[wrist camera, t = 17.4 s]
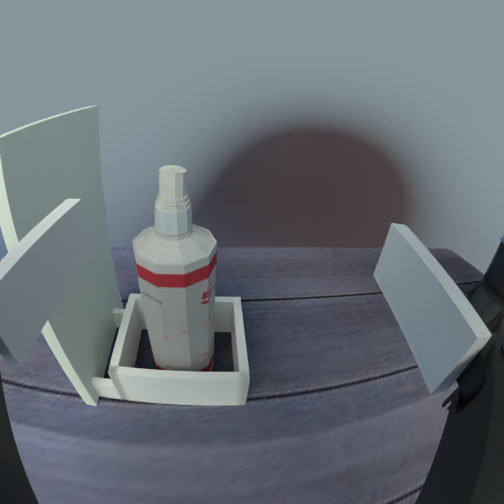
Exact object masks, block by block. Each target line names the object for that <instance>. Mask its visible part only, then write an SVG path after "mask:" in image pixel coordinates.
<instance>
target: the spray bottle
mask: <svg viewBox="0 0 504 504" xmlns="http://www.w3.org/2000/svg"><path fill="white" fill-rule="evenodd" d="M186 177H187V171H186V170H185V169H184V168H182V167H180V166H173V165H168V166H162V167H161V168H160V169H159V194H158V195H157V199H156V204H155V226H152V227H149V228H146V229H144V230H143V231H142V232H141V233H140V234H139V235H138V236H137V237H136V238H135V239H134V240H133V249H134V257H135V264H136V270H137V277H138V283H139V289H140V294H141V300H142V305H143V310H144V315H145V320H146V325H147V330H148V334H149V339H150V343H151V347H152V352H153V356H154V360H155V363H156V367H157V370H170V371H193V372H211V369H212V366H213V364H214V320H215V282H216V254H217V241H216V240H215V238H214V237H213V235H212V234H211V232H210V231H209V230H208V229H205V228H203V227H200V226H197V225H195V224H192V211H191V204H190V199H189V198H188V194H187V193H186Z"/></svg>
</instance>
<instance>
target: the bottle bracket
mask: <svg viewBox="0 0 504 504" xmlns="http://www.w3.org/2000/svg"><path fill="white" fill-rule="evenodd" d="M101 175H102V174H101V161H100V141H99V105H97V106H89V107H84V108H80V109H77V110H73V111H69V112H66V113H62V114H59V115H56V116H52V117H49V118H46V119H43V120H40V121H37V122H34V123H31V124H28V125H26V126H23V127H20V128H18V129H15V130H13V131H10V132H8V133H5V134H3V135H0V226H1V230H2V233H3V237H4V240H5V243H6V246H7V249H8V252H10V251H11V250H12V249H13V248H14V247H15V246H16V245H17V244H18V243H19V242H20V241H21V240H22V239H23V238H24V237H25V236H26V235H27V234H28V233H29V232H30V231H31V230H32V229H33V228H34V227H35V226H36V225H38V224H39V223H40V222H41V221H42V220H43V219H44V218H45V217H46V216H48V215H49V214H50V213H51V212H52V211H53V210H55V209H56V208H57V207H58V206H59V205H60V204H62V203H63V202H64V201H65V200H67V199H82V206H83V213H84V219H85V224H86V230H87V235H88V240H89V245H90V250H91V255H90V257H89V258H88V260H87V261H86V262H85V264H84V265H83V267H82V268H81V269H80V271H79V272H78V274H77V275H76V277H75V278H74V280H73V281H72V283H71V284H70V285H69V287H68V288H67V290H66V292H65V293H64V295H63V296H62V298H61V299H60V301H59V302H58V304H57V306H56V307H55V309H54V310H53V312H52V314H51V315H50V317H49V319H48V320H47V322H46V324H45V325H44V327H43V329H42V330H41V331H42V333H43V335H44V337H45V339H46V341H47V342H48V344H49V346H50V348H51V350H52V351H53V353H54V355H55V357H56V358H57V360H58V362H59V363H60V365H61V367H62V368H63V370H64V372H65V373H66V375H67V376H68V378H69V379H70V381H71V382H72V384H73V386H74V387H75V389H76V390H77V391H78V393H79V394H80V396H81V397H82V399H83V400H84V401H85V403H86V404H88V405H94V406H97V404H98V400H99V396H102V397H109V398H116V399H123V400H131V401H141V402H151V403H164V404H181V405H245V404H246V399H247V394H248V388H249V383H250V374H249V366H248V358H247V350H246V341H245V333H244V324H243V316H242V307H241V298H240V297H215V320H214V332H231V341H232V354H233V366H234V372H193V371H170V370H154V369H141V368H135V362H136V357H137V352H138V347H139V342H140V337H141V332H142V329H146V330H147V325H146V320H145V315H144V310H143V305H142V300H141V294H133V293H130V295H129V298H128V302H127V305H126V308H125V309H123V304H122V299H121V295H120V291H119V286H118V282H117V277H116V272H115V267H114V262H113V257H112V251H111V245H110V239H109V234H108V227H107V220H106V213H105V204H104V195H103V185H102V176H101ZM117 327H120V328H119V332H118V335H117V339H116V343H115V346H114V350H113V354H112V358H111V362H110V366H109V370H108V374H109V376H110V378H111V379H106V378H103V377H104V373H105V369H106V365H107V361H108V358H109V354H110V350H111V346H112V343H113V339H114V336H115V332H116V329H117Z"/></svg>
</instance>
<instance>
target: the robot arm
mask: <svg viewBox="0 0 504 504" xmlns="http://www.w3.org/2000/svg"><path fill="white" fill-rule="evenodd" d="M90 255H91V250H90V245H89V240H88V235H87V230H86V224H85V219H84V213H83V206H82V199H67V200H65V201H64V202H63V203H62V204H60V205H59V206H58V207H57V208H56V209H55V210H53V211H52V212H51V213H50V214H49V215H48V216H46V217H45V218H44V219H43V220H42V221H41V222H40V223H39V224H38V225H36V226H35V227H34V228H33V229H32V230H31V231H30V232H29V233H28V234H27V235H26V236H25V237H24V238H23V239H22V240H21V241H20V242H19V243H18V244H17V245H16V246H15V247H14V248H13V249H12V250H11V251H10V252H9V253H8V254H7V255H6V256H5V257H4V258H3V259H2V260H1V261H0V353H1V355H2V356H3V358H4V359H5V361H6V362H8V363H10V364H13V365H15V366H18V367H20V368H22V366H23V364H24V362H25V360H26V358H27V356H28V354H29V352H30V350H31V348H32V347H33V345H34V343H35V341H36V339H37V338H38V336H39V334H40V332H41V330H42V329H43V327H44V325H45V324H46V322H47V320H48V319H49V317H50V315H51V314H52V312H53V310H54V309H55V307H56V306H57V304H58V302H59V301H60V299H61V298H62V296H63V295H64V293H65V292H66V290H67V288H68V287H69V285H70V284H71V283H72V281H73V280H74V278H75V277H76V275H77V274H78V272H79V271H80V269H81V268H82V267H83V265H84V264H85V262H86V261H87V260H88V258H89V257H90ZM373 276H374V278H375V280H376V282H377V283H378V285H379V287H380V289H381V291H382V293H383V295H384V296H385V298H386V300H387V302H388V304H389V306H390V308H391V310H392V312H393V314H394V316H395V318H396V320H397V322H398V324H399V326H400V328H401V330H402V332H403V334H404V336H405V338H406V340H407V342H408V345H409V347H410V349H411V351H412V353H413V355H414V358H415V360H416V362H417V364H418V367H419V369H420V371H421V373H422V376H423V378H424V381H425V383H426V385H427V388H428V390H429V393H430V395H432V394H436V393H440V392H444V391H446V390H447V389H448V388H449V387H450V386H451V385H452V384H453V383H454V382H455V381H457V383H458V385H459V387H458V388H457V389H456V390H455V391H454V392H453V393H452V394H451V395H450V396H449V397H448V398H447V399H446V400H445V401H444V402H443V404H442V407H444V406H445V405H447V404H448V403H449V402H450V401H452V402H451V405H450V406H449V407H448V408H447V409H448V410H449V414H448V417H447V421H446V424H445V428H444V431H443V434H442V437H441V441H440V444H439V447H438V449H437V452H436V455H435V458H434V461H433V463H432V466H431V468H430V471H429V473H428V476H427V478H426V481H425V483H424V485H423V487H422V490H421V492H420V494H419V496H418V498H417V500H416V502H415V504H504V235H503V236H502V237H501V242H500V244H499V247H498V249H497V251H496V253H495V255H494V257H493V259H492V261H491V263H490V265H489V268H488V269H487V271H486V273H485V275H484V277H483V279H482V280H481V281H480V282H479V283H478V284H477V285H476V286H475V287H474V288H472V289H471V290H470V291H469V292H468V293H467V294H466V295H465V294H464V293H463V292H462V291H461V290H460V289H459V288H458V286H457V285H456V284H455V282H454V281H453V280H452V279H451V277H450V276H449V275H448V274H447V272H446V271H445V270H444V269H443V267H442V266H441V265H440V264H439V263H438V261H437V260H436V259H435V258H434V257H433V255H432V254H431V253H430V252H429V251H428V249H427V248H426V247H425V246H424V245H423V244H422V243H421V242H420V240H419V239H418V238H417V237H416V236H415V235H414V234H413V233H412V232H411V230H410V229H409V228H408V227H407V226H406V225H402V224H394V223H392V224H391V227H390V230H389V233H388V236H387V239H386V242H385V244H384V247H383V250H382V253H381V255H380V258H379V261H378V263H377V266H376V269H375V271H374V274H373ZM0 504H39V503H38V501H37V499H36V497H35V494H34V492H33V490H32V487H31V485H30V483H29V480H28V478H27V475H26V472H25V470H24V467H23V464H22V461H21V459H20V456H19V453H18V449H17V446H16V443H15V440H14V436H13V432H12V429H11V425H10V421H9V417H8V412H7V408H6V403H5V398H4V393H3V387H2V381H1V374H0Z"/></svg>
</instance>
